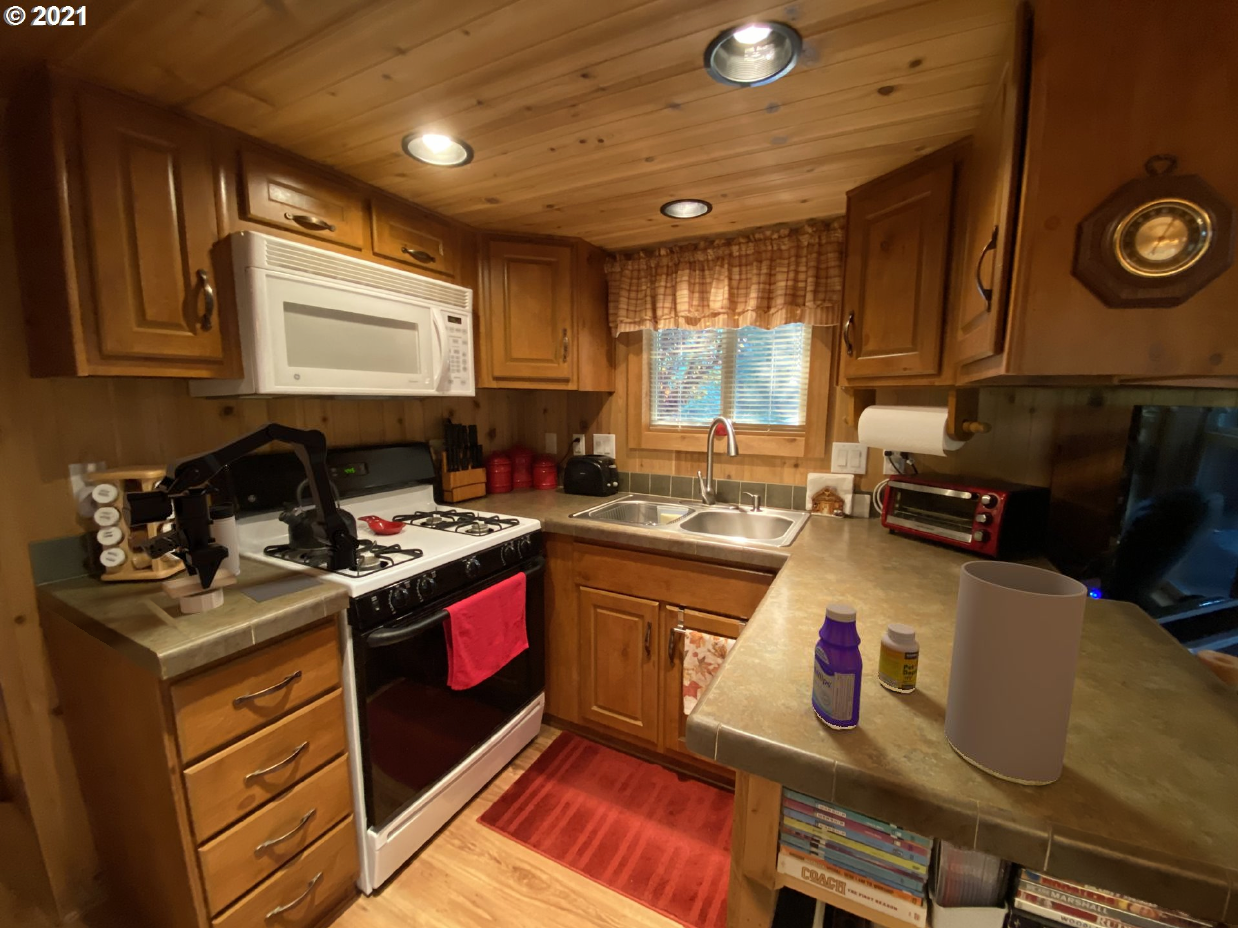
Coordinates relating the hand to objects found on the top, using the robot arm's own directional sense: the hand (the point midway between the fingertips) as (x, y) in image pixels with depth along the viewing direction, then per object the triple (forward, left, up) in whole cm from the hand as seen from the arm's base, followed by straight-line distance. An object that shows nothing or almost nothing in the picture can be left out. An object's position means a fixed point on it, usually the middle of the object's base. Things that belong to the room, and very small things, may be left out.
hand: (200, 584), depth 108 cm
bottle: (-41, +124, -6) cm, 131 cm away
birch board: (0, 0, 0) cm, 0 cm away
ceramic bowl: (0, 0, -6) cm, 6 cm away
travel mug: (-10, -19, -6) cm, 22 cm away
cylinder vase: (-46, +144, -6) cm, 151 cm away
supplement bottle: (-56, +131, -6) cm, 143 cm away
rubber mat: (-15, +2, -6) cm, 16 cm away
